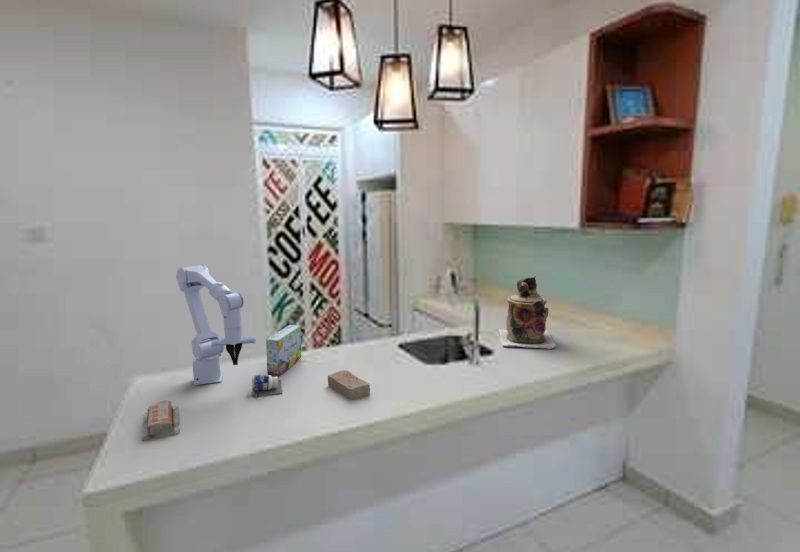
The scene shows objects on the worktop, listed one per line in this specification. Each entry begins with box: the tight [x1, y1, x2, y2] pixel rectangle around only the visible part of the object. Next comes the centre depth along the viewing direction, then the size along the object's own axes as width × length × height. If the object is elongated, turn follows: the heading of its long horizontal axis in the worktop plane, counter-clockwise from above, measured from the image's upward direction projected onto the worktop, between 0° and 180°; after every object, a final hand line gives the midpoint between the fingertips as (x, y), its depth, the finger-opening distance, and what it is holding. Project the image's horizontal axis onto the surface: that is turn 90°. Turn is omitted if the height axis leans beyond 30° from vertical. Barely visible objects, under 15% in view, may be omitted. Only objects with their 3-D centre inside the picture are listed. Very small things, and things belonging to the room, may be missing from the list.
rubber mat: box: [258, 379, 283, 398], centre depth 165 cm, size 8×12×1 cm, turn 17°
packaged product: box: [141, 400, 181, 442], centre depth 139 cm, size 18×5×10 cm
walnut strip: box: [253, 390, 258, 398], centre depth 163 cm, size 1×12×1 cm, turn 17°
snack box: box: [265, 324, 302, 378], centre depth 184 cm, size 21×6×15 cm, turn 168°
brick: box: [327, 369, 371, 401], centre depth 163 cm, size 17×8×5 cm, turn 40°
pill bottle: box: [251, 374, 279, 391], centre depth 162 cm, size 5×5×9 cm
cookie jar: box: [498, 274, 557, 350], centre depth 215 cm, size 25×25×32 cm
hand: (235, 364), depth 160 cm, fingers closed
